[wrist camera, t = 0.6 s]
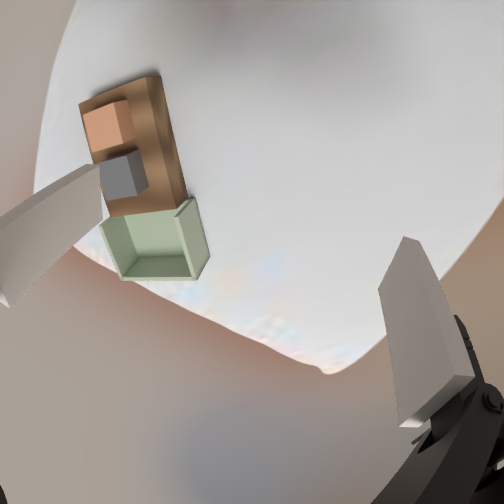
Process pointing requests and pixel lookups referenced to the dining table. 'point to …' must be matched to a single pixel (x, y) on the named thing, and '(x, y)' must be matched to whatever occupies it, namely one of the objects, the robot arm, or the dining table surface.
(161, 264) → the tray
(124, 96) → the walnut board
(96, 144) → the peach square block
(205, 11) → the dining table surface
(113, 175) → the grey square block
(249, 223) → the dining table surface
